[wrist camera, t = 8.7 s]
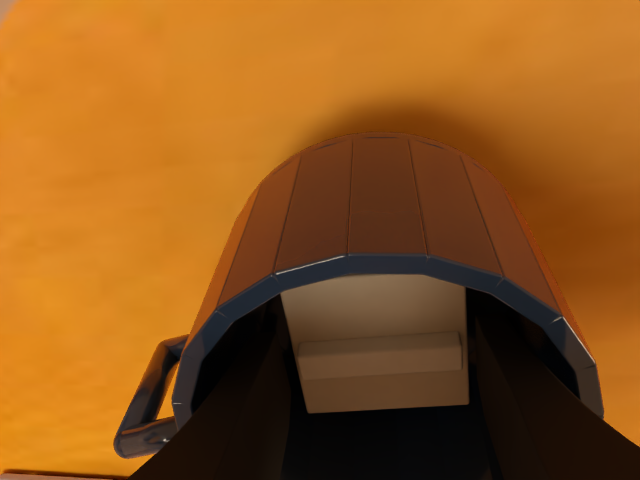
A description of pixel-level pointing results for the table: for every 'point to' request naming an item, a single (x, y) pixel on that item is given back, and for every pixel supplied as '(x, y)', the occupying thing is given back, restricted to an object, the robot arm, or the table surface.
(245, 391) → the robot arm
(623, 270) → the table surface
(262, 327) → the mug
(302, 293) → the tan ridged cube
